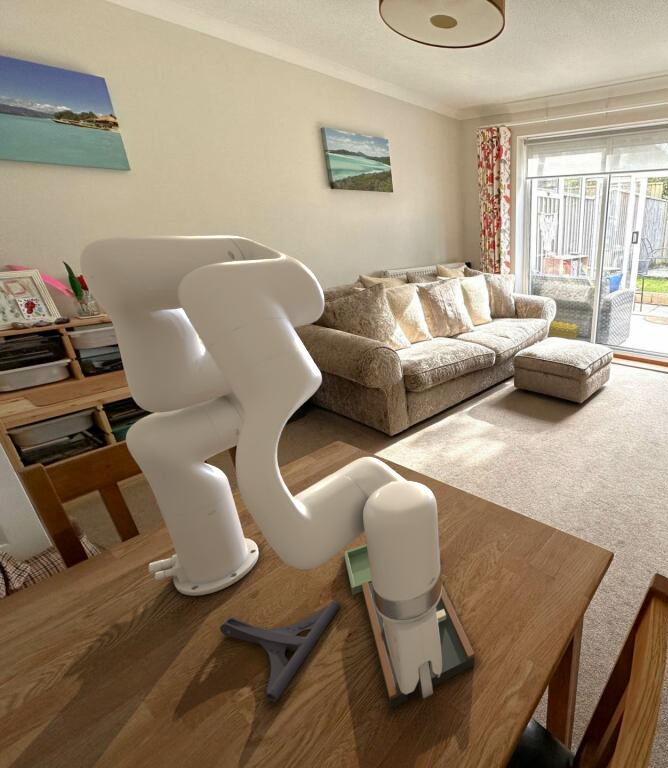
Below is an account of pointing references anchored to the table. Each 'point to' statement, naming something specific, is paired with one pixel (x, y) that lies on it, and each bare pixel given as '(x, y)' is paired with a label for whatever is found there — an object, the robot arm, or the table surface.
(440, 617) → the chalk
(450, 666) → the chalkboard
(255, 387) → the robot arm
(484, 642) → the table surface
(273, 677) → the bracket
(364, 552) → the tray
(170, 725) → the table surface
